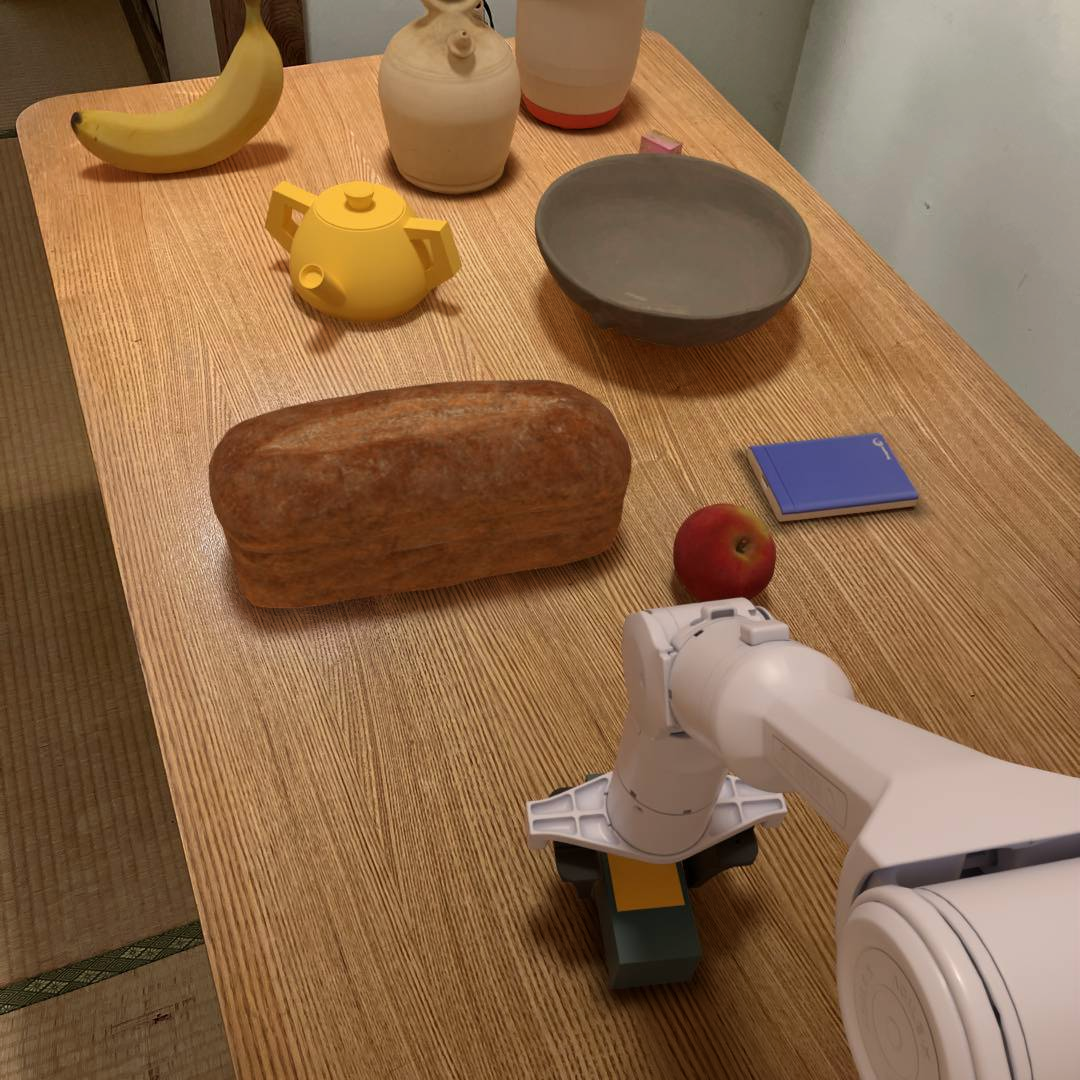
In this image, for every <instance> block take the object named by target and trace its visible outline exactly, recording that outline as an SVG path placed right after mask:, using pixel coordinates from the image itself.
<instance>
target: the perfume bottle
mask: <svg viewBox="0 0 1080 1080" xmlns="http://www.w3.org/2000/svg"><path fill="white" fill-rule="evenodd" d="M683 145H684V142H681V141H680V140H678V139H675V138H674V137H671V136H669V135H667V134H665V133H663V132H660V131H659V130H658V129H652V130H650V131H648V132H646V133H645V134H642V135H641V136H640V142H639V149H638V153H670V154H680V155H682V151H683Z"/></svg>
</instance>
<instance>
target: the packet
mask: <svg viewBox="0 0 1080 1080" xmlns="http://www.w3.org/2000/svg"><path fill="white" fill-rule="evenodd" d="M606 773H607V772H601V773H591V774H586V775H585V778H584V783H585V782H588V781H590V780H592V779H595V778H597V777H599V776H601V775H604V774H606ZM597 852H598V858H599V863H600V869H601V875H602V880H596V882H595V883H594V884H593V888H594V889H593V890H594V894H595V900H596V901H595V902H596V907H597V913H598V918H599V923H600V924H599V925H600V931H601V936H602V942H603V946H604V947H603V949H604V952H605V954H604V955H605V961H606V966H607V971H608V972H607V973H608V978H609V983H610V989H611V990H620V989H630V988H638V987H646V986H647V987H648V986H655V985H665V984H675V983H684V982H691V981H692V979H693V976H694V974H695V972H696V970H697V968H698V966H699V964H700V962H701V960H702V957H703V950H702V946H701V942H700V937H699V933H698V930H697V929H698V928H697V924H696V921H695V916H694V911H693V908H692V903H691V898H690V895H689V894H690V893H689V889H688V888H687V883H686V879H685V875H684V870H683V866H682V862H681V861H679V862H675V863H670V864H654V863H648V862H644V861H639V860H635V859H631V858H627V857H623V856H619V855H615V854H610V853H606V852H602V851H598V850H597Z"/></svg>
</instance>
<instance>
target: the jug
mask: <svg viewBox="0 0 1080 1080" xmlns="http://www.w3.org/2000/svg"><path fill="white" fill-rule="evenodd" d="M420 2H421V3H422V5H423V7H424V8H425V12H424V13H423V15H422V16H420V17H418V18H415V19H414V20H412V21H411V22H409V23H408V24H406V25H405V26H403V27H402V28H401V29H400V30H399V31H397V32H396V33H395V34H394V35H393V36H392V37H391V39H390V41H388V42H389V43H388V44H387V46H386V48H385V50H384V53H383V55H382V59H381V62H380V65H379V70H378V77H377V92H378V99H379V103H380V109H381V113H382V118H383V122H384V126H385V131H386V134H387V135H386V136H387V139H388V144H389V147H390V152H391V154H392V157H393V160H394V163H395V164H396V168H397V170H398V172H399V173H400V175H401V176H402V177H403V179H405V180H406V181H407V182H409V183H411V184H412V185H414V186H416V187H417V188H420V189H422V190H425V191H429V192H431V193H439V194H443V195H455V196H457V195H465V194H472V193H477V192H481V191H483V190H486V189H488V188H490V187H491V186H493V185H494V184H496V183H497V182H498V181H499V180H500V179H501V177H502V176H503V174H504V170H505V164H506V161H507V159H508V157H509V153H510V149H511V145H512V140H513V136H514V132H515V128H516V124H517V119H518V116H519V111H520V107H521V105H520V104H521V99H522V98H521V97H522V93H521V86H520V76H519V71H518V67H517V63H516V57H515V56H514V55H515V54H514V53H513V51H512V49H511V47H510V45H509V44H508V42H507V41H506V39H505V38H504V37H503V36H502V35H501V34H500V33H499V32H497V31H496V30H495V29H494V28H493V27H491V26H490V25H489V24H487V23H485V22H484V21H482V20H480V19H478V18H476V17H474V16H473V14H472V12H473V10H474V9H476V7H477V6H478V5H479V4H480V3H481V2H482V0H420Z"/></svg>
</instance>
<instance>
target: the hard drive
mask: <svg viewBox="0 0 1080 1080" xmlns="http://www.w3.org/2000/svg"><path fill="white" fill-rule="evenodd" d="M746 457H747V461H748V462H749V465H750V467H751V469H752V471H753V473H754V475H755V477H756V479H757V481H758V483H759V485H760V487H761V489H762V491H763V493H764V495H765V498H766V499H767V501H768V504H769V506H770V507H771V509H772V512H773V514H774V516H775V518H776V520H777V521H778V522H779V523H781V522H791V521H801V520H808V519H818V518H827V517H834V516H842V515H851V514H859V513H866V512H867V513H869V512H877V511H884V510H892V509H902V508H908V507H909V508H910V507H915V506H916V504H917V503H918V502H919V501H918V500H919V493H918V491H917V489H916V488H915V486H914V484H913V482H912V481H911V479H910V477H909V476H908V475H907V473H906V471H905V469H904V468H903V466H902V465H901V463H900V461H899V460H898V459H897V457H896V455H895V454H894V452H893V450H892V449H891V447H890V445H889V444H888V442H887V440H886V439H885V437H884V435H883V434H882V433H880V432H873V433H872V432H871V433H863V434H862V433H861V434H856V435H855V434H854V435H844V436H835V437H826V438H825V437H824V438H816V439H807V440H795V441H786V442H777V443H768V444H758V445H757V444H756V445H750V446H749V447H748V450H747V453H746Z"/></svg>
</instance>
